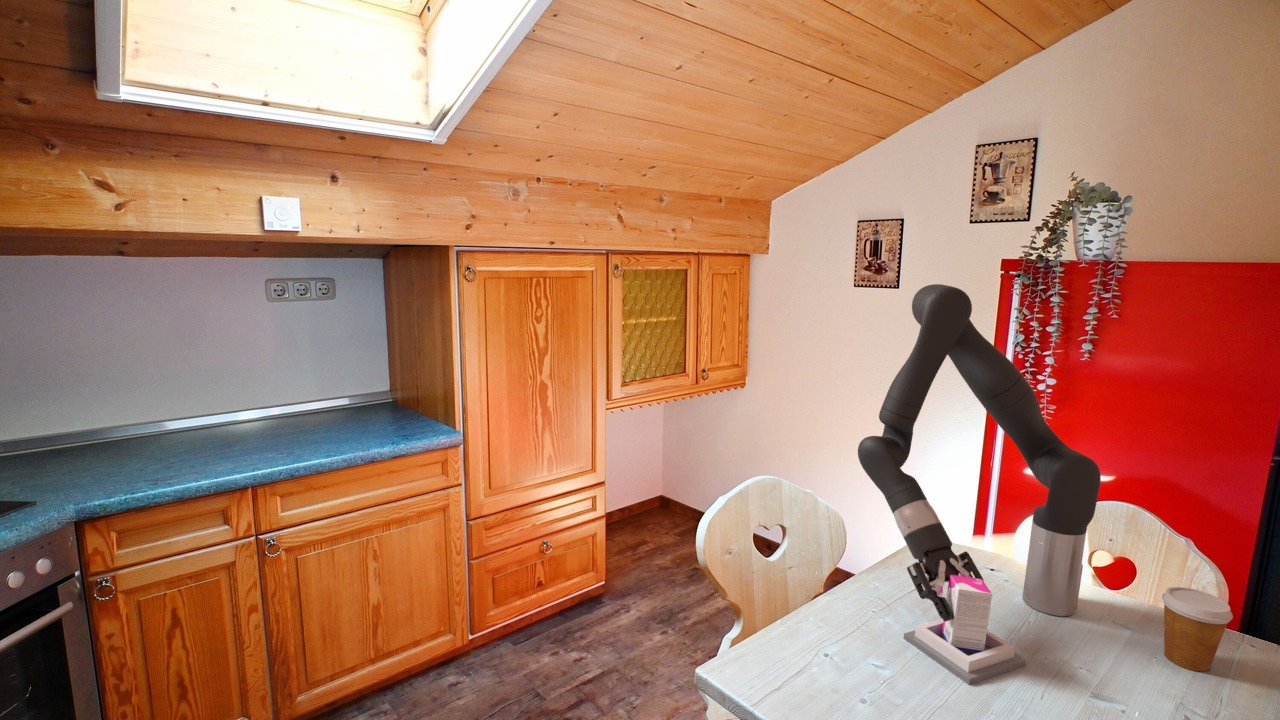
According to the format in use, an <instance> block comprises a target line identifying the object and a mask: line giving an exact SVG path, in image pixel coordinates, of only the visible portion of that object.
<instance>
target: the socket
mask: <svg viewBox="0 0 1280 720" xmlns="http://www.w3.org/2000/svg"><path fill="white" fill-rule="evenodd" d="M942 627H943V619H942V618H939V619H936V620H931V621H928V622H925V623H921V624H917V625H915V629H914V630H911V631H907V632H904V633H903V640H906V641H907V642H908V643H909V642H910V645H912V646H914V647H915V648H916V647H917V648H916V649H918V650H919V651H921V652H923V653H924V654H925V655H926V656H928V657H929V658H931V659H932V660H934V662H936V663H937V664H939V665H940V666H942V667H944V668H945V669H946V670H948V671H949V672H950V673H952V674H953V675H954V676H956V677H957V678H959V679H960V680H962V681H963V682H965V683H966V684H967V685H971V684H974V683H977V682H979V681H983V680H985V679H989V678H992V677H995V676H998V675H1000V674H1003V673H1007V672H1009V671H1012V670H1016V669H1018V668H1022V667H1024V666H1026V659H1025V658H1024V657H1021V656H1020V655H1018V654H1017V653H1015V652H1016V651H1015V650H1016V646H1015V645H1012V644H1011V643H1009V642H1008V641H1006V640H1005V639H1003V638H1001V637H999V636H997V635H996V634H994V633H993V632H991V631H989V630H988V629H987V634H986V641H985V648H984V651H983V652H979V653H976V652H969V651H962V650H958V649H957V648H955V647H954V646H952V645H951V644H949V643H948V642H946V640H945V638H944V635H943V633H942Z"/></svg>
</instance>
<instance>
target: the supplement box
mask: <svg viewBox="0 0 1280 720" xmlns="http://www.w3.org/2000/svg"><path fill="white" fill-rule="evenodd" d="M983 580H984V579H983ZM983 580H982V579H979V578H975V577H973V578H971V577H963V576H956V575H950V577H949V582H948V586H947V592H946V597H945V599H946V601H947V602H948V604H949V606H950V608H951V610H952V612H953V614H954V619H952V620H949V621H944V620H943V627H942V633H943V635H944V638H945V640H946V642H948V643H949V644H951V645H952V646H954V647H955V648H957V649H958V650H962V651H969V652H976V653H979V652H983V651H984V648H985V641H986V634H987V630H988V626H989V619H990V611H991V606H992V600H993V599H992V597H993V593H992V591H991V590H990V589H989V587H988V586H987V585H986V582H985V580H984V581H983Z"/></svg>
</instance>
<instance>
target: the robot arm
mask: <svg viewBox="0 0 1280 720" xmlns="http://www.w3.org/2000/svg"><path fill="white" fill-rule="evenodd" d="M911 311H912V316H913V317H914V319H915V321H916V322H917V324H918V325H920V328H919V333H918V336H917V340H916V342H915V345H914V346H913V349H912V351H911V352H910V354H909V356H908V358H907V359H906V361H905V363H904V364H903V365H902V367H901V368H900V369H899V371H898V372H897V374H896V375H895V377H894V379H893V381H892V382H891V384H890V386H889V387H888V391H887V392H886V395H885V398H884V400H883V403H882V406H881V408H880V410H879V413H878V419H879V422H881V423H882V424H883V425H884V426H883V433H882V435H880V436H879V435H870V436H866V437H865V438H863V439H862V440H861V441H860V442H859V443H858V447H857V457H858V460H859V463H860V465H861V467H862V469H863V471H864V472H865V474H866V475H867V476H868V478H869V479H870V480H871V481H872V482H873V484H874V485H875V487H876V488H877V489H879V491H880V492H881V493H882V495H883V496H884V498H885V499H884V500H886V503H887V505H888V506H889V509H890V510H891V513H892V515H893V517H894V519H895V522H896V525H897V528H898V530H899V531H900V534H901V536H902V538H903V540H904V541H905V544H906V546H907V547H908V550H909V552H910V554H911V555H912V557H913V559H915V560H917V561H918V562H917V561H915V562H914V563H912V564H910V565H909V566H906V570H907V572H908V575H909V577H910V579H911V581H912V583H913V586H914V588H915V589H916V592H917V594H918V597H919V598H920V599H921V600H925V599H927V600H929V601H931V602H932V604H933V605H934V607H935V610H936V611H937V613H938V615H939V617H940V619H943V620H944V621H949V620H952V619H954V614H953V612H952V610H951V608H950V606H949V604H948V602H947V601H946V597H945V596H944V592H943V590H944V589H943V588H944V586H945V584H946V583H949V577H950V575H956V576H963V577H971V578H979V579H982V580H983V581H984V582H985V580H984V578H983V576H982V574H981V573H980V571H979V568H978V567H977V565H976V564H975V562H974V560H973V558H972V556H971V555H970V553H969V552H967V551H964V552H961V553H959V554H956V553H955V552H954V551H953V550H952V546H953V542H952V540H951V538H950V536H949V535H948V532H947V531H946V529H945V527H944V526H943V523H942V522H941V520H940V518H939V516H938V514H937V513H936V511H935V510H934V508H933V506H932V505H931V504H930V502H929V500H928V499H927V497H926V495H925V493H924V491H923V489H922V488H921V486H920V484H919V482H918V481H917V479H916V478H915V477H914V476H912V475H910V474H907V473H905V472H904V471H903V469H901V468H902V467H903V466H904V465H905V463H906V462H907V460H908V458H909V456H910V453H911V447H912V442H913V435H914V425H915V424H916V422H917V419H918V417H919V415H920V412H921V411H922V410H921V409H922V408H923V405H924V403H925V400H926V397H927V395H928V394H929V391H930V389H931V386H932V384H933V382H934V380H935V378H936V376H937V374H938V372H939V370H940V369H941V367H942V365H943V363H944V361H945V360H946V358H947V356H948V358H949V359H950V361H951V362H952V364H954V366H955V368H956V370H957V371H958V373H959V375H960V376H961V377H962V379H963V380H964V382H965V383H966V384H967V386H968V387H969V389H970V390H971V392H972V394H973V395H974V396H975V397H976V399H977V400H978V401H979V403H980V404H981V405H982V407H983V408H984V409H985V410H986V412H987V413H988V414H989V415H990V416H991V418H992V419H993V420H994V421H995V422H996V423H997V425H998V426H999V427H1000V429H1002V430H1003V431H1004V433H1005V434H1006V435H1007V436H1008V437H1009V438H1010V439H1011V441H1012V442H1013V444H1014V445H1016V447H1017V449H1018V450H1019V452H1020V454H1021V456H1022V458H1023V459H1024V461H1025V462H1026V464H1027V466H1028V468H1029V469H1030V470H1031V473H1032V474H1033V475H1034V477H1035V479H1036V480H1038V482H1039V483H1040V484H1041V485H1043V486H1044V487H1045V488H1047V489H1048V493H1047V497H1046V503H1045V504H1042V505H1037V506H1036V507H1035V509H1034V510H1033V514H1032V523H1031V530H1030V539H1029V544H1028V545H1029V546H1028V552H1027V553H1028V554H1027V560H1026V561H1027V562H1026V569H1025V575H1024V585H1023V590H1022V600H1023V602H1024V603H1025V604H1026V605H1028V606H1029V607H1030V608H1032V609H1034V610H1036V611H1038V612H1041V613H1044V614H1048V615H1052V616H1059V617H1069V616H1072V615H1073V614H1075V612H1076V608H1077V607H1078V602H1079V596H1080V590H1081V584H1082V583H1081V582H1082V574H1083V568H1084V565H1083V558H1084V551H1085V544H1086V538H1087V537H1086V535H1087V530H1088V526H1089V524H1090V523H1091V522H1092V521H1093V518H1094V516H1095V512H1096V508H1097V502H1098V497H1099V493H1100V488H1101V471H1100V468H1099V466H1098V464H1097V463H1096V462H1095V461H1094V460H1093V459H1092V458H1091V457H1088V456H1087V455H1084V454H1083V453H1081V452H1078V451H1077V450H1075V449H1072V448H1071V447H1069V446H1068V445H1067V444H1066V443H1065V442H1063V440H1061V439H1060V437H1059V436H1058V435H1057V434H1056V433H1055V432H1054V431H1053V429H1051V427H1050V426H1049V425H1048V423H1047V422H1046V420H1045V418H1044V416H1043V413H1042V411H1041V406H1040V405H1041V404H1040V401H1039V399H1038V396H1037V395H1036V392H1035V390H1034V389H1033V387H1032V385H1030V383H1029V382H1028V381H1027V379H1026V377H1024V375H1023V374H1022V373H1021V371H1020V370H1019V369H1018V368H1017V366H1016V365H1015V364H1014V363H1013V362H1012V361H1011V360H1010V359H1009V358H1008V357H1006V355H1004V353H1002V352H1001V351H1000V350H999V349H998V348H997V347H996V346H995V345H993V344H992V343H991V342H990V341H989V340H987V339H986V338H985V337H984V336H983V335H982V334H981V333H980V331H979V330H978V329H977V328H976V327H975V326H974V323H973V322H972V321H971V319H970V318H971V316H972V311H973V304H972V300H971V299H970V296H969V295H968V294H967V293H966V291H964V290H962V289H961V288H958V287H956V286H950V285H945V284H941V283H939V284H937V283H935V284H930V285H926V286H923V287H922V288H920V289H919V290H917V292H916V293H915V294H914V296H913V299H912V303H911ZM972 574H973V575H972Z"/></svg>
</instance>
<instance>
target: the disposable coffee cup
mask: <svg viewBox="0 0 1280 720" xmlns="http://www.w3.org/2000/svg"><path fill="white" fill-rule="evenodd" d="M1161 599H1162V601H1163V604H1164V605H1163V607H1164V610H1163V612H1164V613H1163V614H1164V616H1163V620H1164V622H1163V625H1164V629H1163V634H1164V637H1163V638H1164V643H1163V644H1164V645H1163V649H1164V652H1163V655H1164V657H1165V658H1167V660H1168V661H1170V662H1171V663H1173V664H1175V665H1176V664H1177V666H1179V667H1181V668H1183V669H1186V670H1189V669H1190V671H1193V670H1194V672H1198V671H1201V672H1200V673H1203V671H1206V672H1208V671H1207V670H1209V669H1210V670H1211V667H1212V663H1213V661H1214V659H1215V656H1216V653H1217V651H1218V648H1219V646H1220V642H1222V637H1224V633H1225V630H1226V628H1227V625H1228V623H1230V621H1232V620H1233V618H1234V616H1233V613H1232V611H1231V606H1230V605H1229V603H1227V602H1226V601H1225V600H1223V599H1221V598H1220V597H1217V596H1215V595H1213V594H1211V593H1208V592H1205V591H1202V590H1198V589H1194V588H1190V587H1182V586H1170V587H1168V588H1167V589H1166V590H1165V592H1164V593H1162V594H1161ZM1210 670H1209V671H1210Z"/></svg>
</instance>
